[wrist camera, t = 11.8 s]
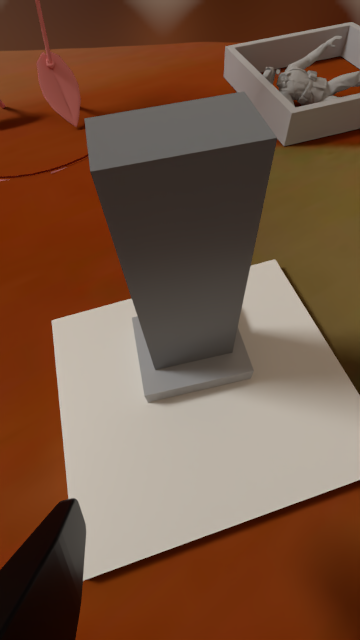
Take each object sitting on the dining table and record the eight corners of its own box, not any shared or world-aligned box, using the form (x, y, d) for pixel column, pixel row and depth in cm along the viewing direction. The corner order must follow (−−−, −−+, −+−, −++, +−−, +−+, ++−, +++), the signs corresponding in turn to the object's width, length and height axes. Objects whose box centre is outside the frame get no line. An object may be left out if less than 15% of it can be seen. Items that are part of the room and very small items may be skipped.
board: (393, 466, 16) (402, 464, 15) (82, 579, 14) (76, 583, 13) (272, 266, 23) (275, 259, 22) (56, 326, 21) (51, 320, 21)
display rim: (430, 111, 32) (450, 77, 30) (284, 146, 31) (291, 113, 28) (342, 52, 41) (352, 21, 38) (223, 76, 39) (225, 46, 37)
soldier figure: (369, 142, 32) (263, 102, 30) (341, 153, 37) (247, 119, 35) (403, 56, 30) (291, 7, 28) (369, 78, 35) (271, 38, 33)
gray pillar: (250, 378, 18) (335, 163, 7) (147, 402, 17) (55, 216, 6) (225, 307, 20) (256, 67, 9) (135, 327, 20) (53, 100, 9)
